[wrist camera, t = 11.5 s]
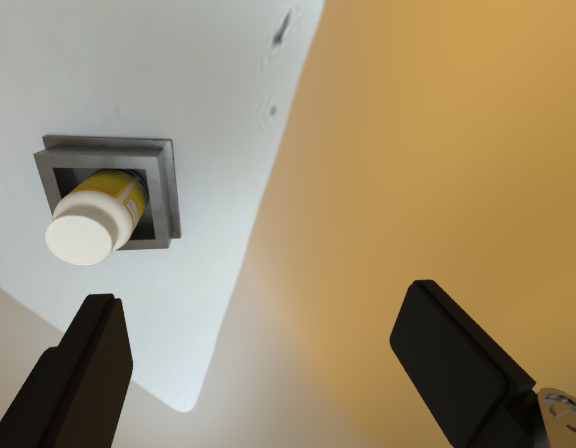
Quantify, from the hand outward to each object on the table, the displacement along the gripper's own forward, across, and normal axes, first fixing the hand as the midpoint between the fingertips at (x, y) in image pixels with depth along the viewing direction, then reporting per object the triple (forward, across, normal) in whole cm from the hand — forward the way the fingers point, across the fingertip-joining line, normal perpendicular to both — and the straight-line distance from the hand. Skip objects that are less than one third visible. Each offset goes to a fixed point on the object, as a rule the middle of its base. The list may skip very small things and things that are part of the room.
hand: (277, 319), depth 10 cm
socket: (+28, +13, +7) cm, 31 cm away
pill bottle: (+27, +13, +7) cm, 31 cm away
